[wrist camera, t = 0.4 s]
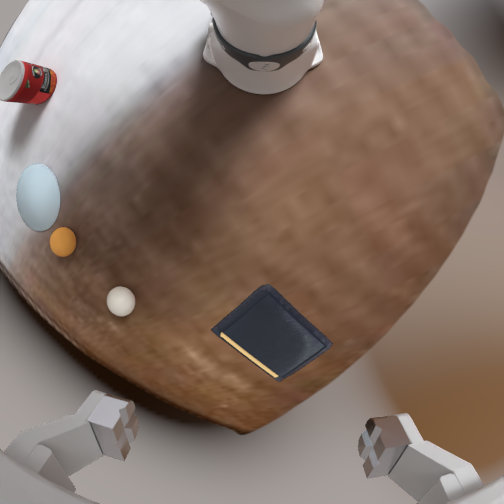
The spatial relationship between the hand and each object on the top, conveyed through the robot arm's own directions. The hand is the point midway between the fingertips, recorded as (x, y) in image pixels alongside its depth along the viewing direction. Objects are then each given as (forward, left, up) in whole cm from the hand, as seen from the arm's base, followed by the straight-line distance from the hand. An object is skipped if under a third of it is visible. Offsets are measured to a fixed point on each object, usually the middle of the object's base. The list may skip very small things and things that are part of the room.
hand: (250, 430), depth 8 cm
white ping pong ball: (+16, -25, -37) cm, 47 cm away
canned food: (-27, -42, -40) cm, 64 cm away
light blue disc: (-4, -44, -39) cm, 60 cm away
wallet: (+24, +4, -40) cm, 47 cm away
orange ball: (+5, -36, -37) cm, 52 cm away
